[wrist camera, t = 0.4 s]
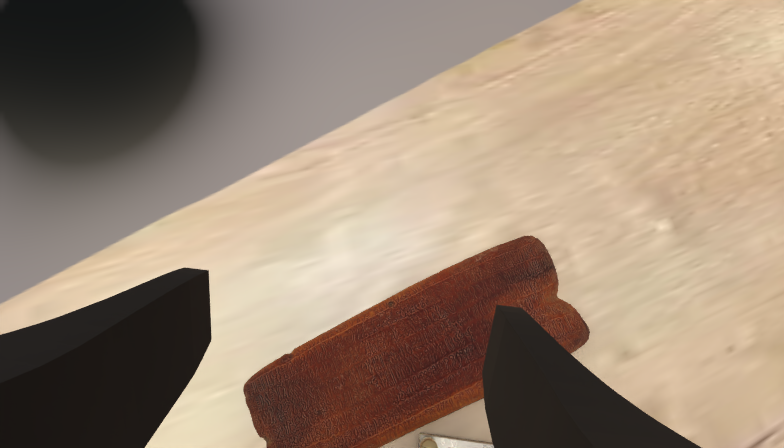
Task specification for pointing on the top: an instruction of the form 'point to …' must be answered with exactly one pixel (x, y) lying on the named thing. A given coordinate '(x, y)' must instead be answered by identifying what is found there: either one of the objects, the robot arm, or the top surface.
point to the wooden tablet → (407, 354)
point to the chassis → (449, 442)
